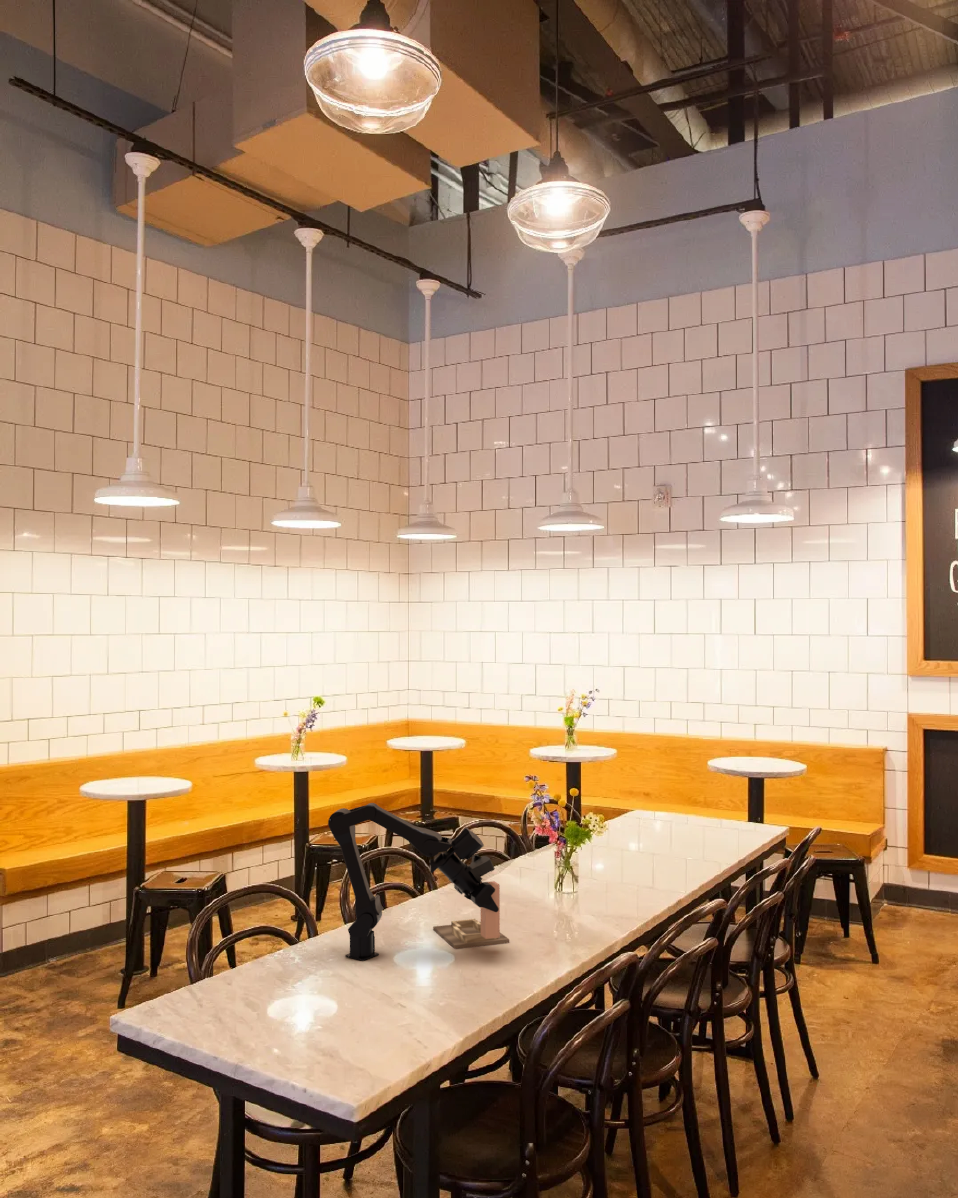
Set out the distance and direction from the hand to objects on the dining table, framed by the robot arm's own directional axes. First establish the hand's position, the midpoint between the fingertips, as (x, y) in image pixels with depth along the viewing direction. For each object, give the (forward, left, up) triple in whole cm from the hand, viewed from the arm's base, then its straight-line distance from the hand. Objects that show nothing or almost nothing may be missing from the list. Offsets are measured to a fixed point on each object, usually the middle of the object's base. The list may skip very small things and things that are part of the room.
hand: (494, 909), depth 271 cm
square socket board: (+8, +14, -11) cm, 20 cm away
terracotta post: (-1, +1, -7) cm, 7 cm away
